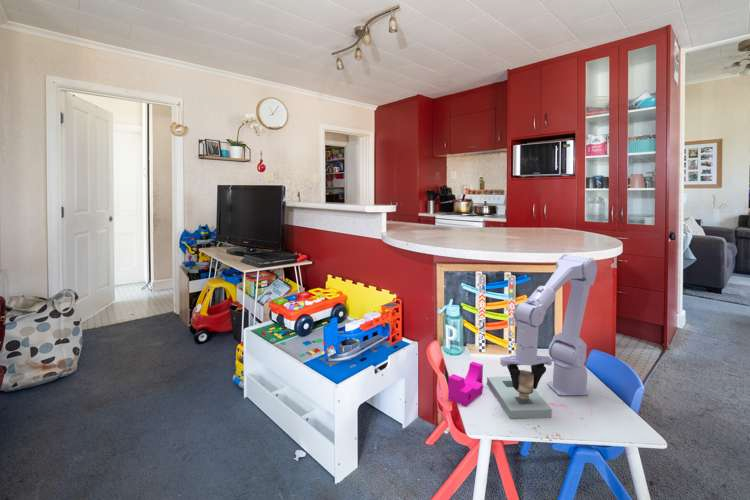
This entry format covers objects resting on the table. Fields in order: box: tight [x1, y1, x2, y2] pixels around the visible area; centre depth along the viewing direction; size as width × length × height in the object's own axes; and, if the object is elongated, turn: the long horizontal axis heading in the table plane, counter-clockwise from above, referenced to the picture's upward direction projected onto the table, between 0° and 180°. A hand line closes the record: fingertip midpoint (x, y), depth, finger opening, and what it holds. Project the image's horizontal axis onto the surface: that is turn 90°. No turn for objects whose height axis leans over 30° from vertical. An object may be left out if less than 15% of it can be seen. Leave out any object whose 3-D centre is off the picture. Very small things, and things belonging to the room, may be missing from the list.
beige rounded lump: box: [516, 369, 534, 399], centre depth 112 cm, size 5×5×7 cm
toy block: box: [447, 361, 484, 407], centre depth 121 cm, size 15×6×8 cm, turn 136°
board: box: [486, 375, 553, 420], centre depth 118 cm, size 12×20×2 cm, turn 2°
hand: (524, 387), depth 112 cm, fingers closed on beige rounded lump, 5 cm apart
